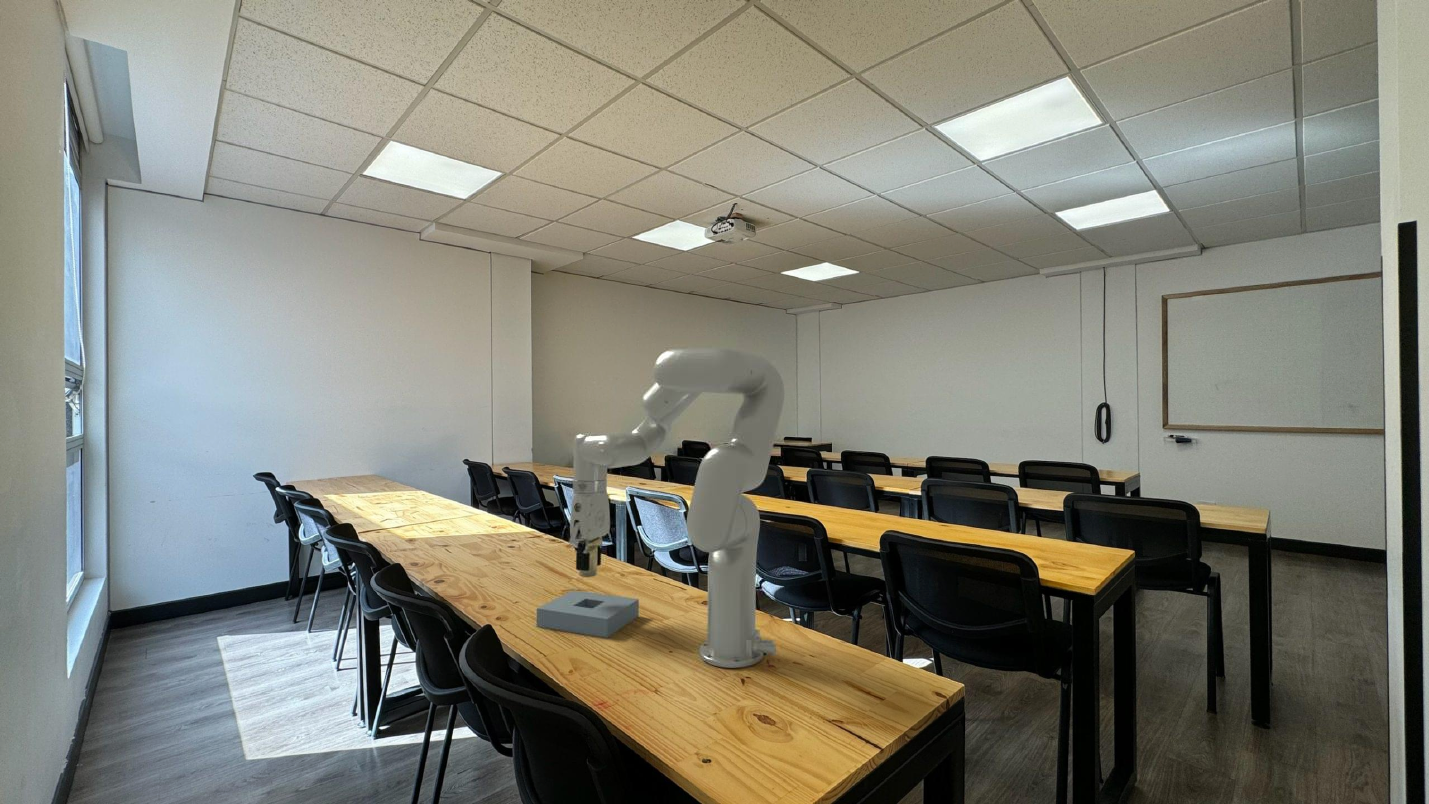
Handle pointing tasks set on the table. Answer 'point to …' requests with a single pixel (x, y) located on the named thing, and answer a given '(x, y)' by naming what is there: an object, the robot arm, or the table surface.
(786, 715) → the table surface
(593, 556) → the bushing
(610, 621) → the jig
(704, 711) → the table surface
